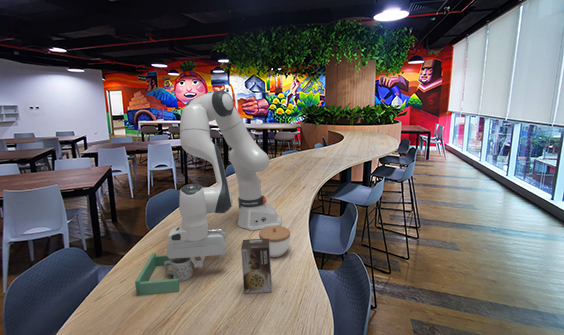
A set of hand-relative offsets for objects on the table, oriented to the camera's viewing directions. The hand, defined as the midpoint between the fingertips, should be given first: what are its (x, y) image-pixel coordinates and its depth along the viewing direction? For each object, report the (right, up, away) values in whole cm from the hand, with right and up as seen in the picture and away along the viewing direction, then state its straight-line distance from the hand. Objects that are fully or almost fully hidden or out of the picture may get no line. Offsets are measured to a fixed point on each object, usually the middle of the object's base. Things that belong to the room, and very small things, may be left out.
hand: (198, 266), depth 105 cm
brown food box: (+22, -5, -7) cm, 24 cm away
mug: (-7, -4, 0) cm, 8 cm away
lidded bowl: (+27, 0, +15) cm, 31 cm away
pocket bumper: (-11, -4, 0) cm, 12 cm away
